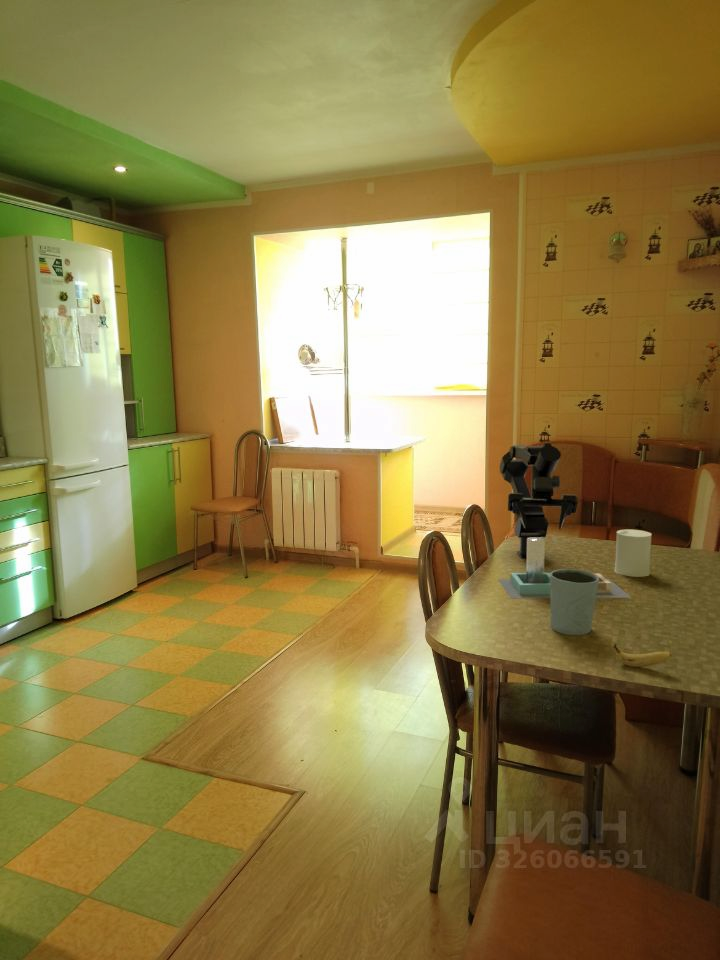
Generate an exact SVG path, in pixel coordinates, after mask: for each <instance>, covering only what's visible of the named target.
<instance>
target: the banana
mask: <svg viewBox="0 0 720 960" xmlns="http://www.w3.org/2000/svg"><path fill="white" fill-rule="evenodd" d="M613 648H614V649H615V651H616V652H617V654H618V655H617V656H618V660H619V661H620V662H621V663H622V664H623V665H626V666H628V667H632V668H633V667H634V668H644V667H652V666H654V665H655V666H656V665H659V664H662V663H665V662H666V661H668V660H670V658H671V657H672V652H668V651H655V652H649V653H641V654H639V653H638V654H632V653H626V652H623V651H621V650H620V649H619V648H618V647H617V643H616V642H615V644H613Z"/></svg>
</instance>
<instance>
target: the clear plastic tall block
mask: <svg viewBox="0 0 720 960" xmlns="http://www.w3.org/2000/svg"><path fill="white" fill-rule="evenodd" d="M545 544H546V543H545V538H544V537H540V538H539V537H530V538H527V558H526V570H525V571H526V572H525V573H526V583H544V573H545V546H546V545H545Z"/></svg>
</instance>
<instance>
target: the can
mask: <svg viewBox="0 0 720 960" xmlns="http://www.w3.org/2000/svg"><path fill="white" fill-rule="evenodd" d="M652 535H653V534H652V532H648V531H645V530H639V529H629V528H627V529H619V530H617V531H616V543H615V544H616V546H615V564H614V572H615V573H616V574H618V575H621V576H627V577H633V578H636V577H637V578H639V577H642V578H643V577H647V576H648V577H649V576H650V564H651V563H650V562H651V545H652Z"/></svg>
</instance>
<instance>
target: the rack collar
mask: <svg viewBox="0 0 720 960" xmlns="http://www.w3.org/2000/svg"><path fill="white" fill-rule="evenodd" d="M550 573H551V572H544V583H526V572H510V578H509V579H510V582H511V584H512V585H513V586H514V588H515V589H516V590H517V592H518V593H519V594H520V595H523V594H550V593H551V590H550ZM524 583H526V584H524Z"/></svg>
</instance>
